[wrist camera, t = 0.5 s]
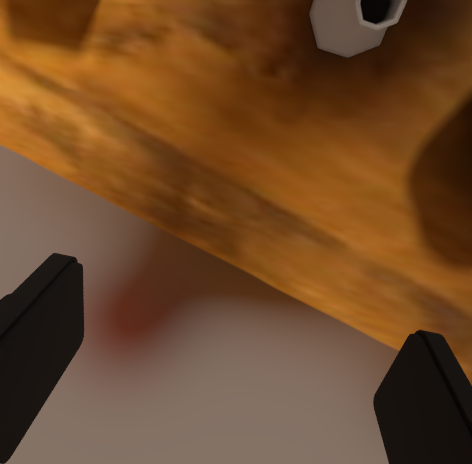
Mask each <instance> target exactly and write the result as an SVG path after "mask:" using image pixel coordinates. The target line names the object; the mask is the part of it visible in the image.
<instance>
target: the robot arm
mask: <svg viewBox="0 0 472 464" xmlns="http://www.w3.org/2000/svg"><path fill="white" fill-rule="evenodd" d="M83 304H84V303H83V266H82V264H80V263H78V262H77V259H76V258H75V257H72V256H67V255H62V254H57V253H53V254H52V255H51V256H49V257H48V258H47V259H46V260H45V261H44V262H43V263H42V264H41V265H40V266H39V267H38V268H37V269H36V270H35V271H34V272H33V273H32V274H31V275H30V276H29V277H28V278H27V279H26V280H25V281H24V282H23V283H22V284H21V285H20V286H19V287H18V288H17V289H16V290H15V291H14V292H13V293H12V294H8V295H6V296H5V297H3V298H2V299H1V300H0V463H1V464H4V463H6V462H7V461H8V460H9V459H10V457H11V456H12V454H13V453H14V451H15V449H16V448H17V446H18V445H19V443H20V442H21V440H22V438H23V437H24V435H25V434H26V432H27V430H28V429H29V427H30V425H31V424H32V422H33V421H34V419H35V418H36V416H37V414H38V413H39V411H40V410H41V408H42V406H43V405H44V403H45V401H46V400H47V398H48V397H49V395H50V394H51V392H52V390H53V389H54V387H55V386H56V384H57V382H58V381H59V379H60V377H61V376H62V374H63V373H64V371H65V370H66V368H67V366H68V365H69V363H70V362H71V360H72V358H73V357H74V355H75V354H76V352H77V350H78V349H79V347H80V345H81V343H82V341H83V337H84V307H83V306H84V305H83ZM373 403H374V410H375V414H376V417H377V421H378V424H379V428H380V432H381V436H382V439H383V443H384V447H385V450H386V454H387V457H388V461H389V464H472V386H471V384H470V382H469V380H468V379H467V377H466V375H465V373H464V372H463V370H462V368H461V366H460V364H459V363H458V361H457V359H456V357H455V356H454V354H453V352H452V350H451V349H450V347H449V345H448V343H447V342H446V340H445V338H444V337H443V336H442V335H441V334H437V333H433V332H428V331H423V330H418V331H416V332H415V334H410V335H409V336H408V337H407V339H406V341H405V343H404V344H403V346H402V348H401V350H400V351H399V353H398V355H397V357H396V358H395V360H394V362H393V364H392V365H391V367H390V369H389V371H388V372H387V374H386V376H385V378H384V379H383V381H382V383H381V385H380V386H379V388H378V390H377V392H376V393H375V396H374V402H373Z"/></svg>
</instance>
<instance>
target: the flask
mask: <svg viewBox="0 0 472 464" xmlns="http://www.w3.org/2000/svg"><path fill="white" fill-rule="evenodd" d="M406 2H407V0H313V3H312V6H311V9H310V12H309V16H310V20H311V24H312V28H313V32H314V36H315V40H316V44H317V47H318V49H321V50H325V51H328V52H331V53H334V54H337V55H340V56H343V57H346V58H349V57H351V56H354V55H357V54H359V53H362V52H364V51H367V50H369V49H372V48H374V47H377V46H380V44H381V42H382V39H383V37H384V35H385V32H386V30H387V28H388V27H389V26H391V25H394V24H396V23H398V21H399V18H400V16H401V14H402V12H403V9H404V7H405V5H406Z"/></svg>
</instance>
